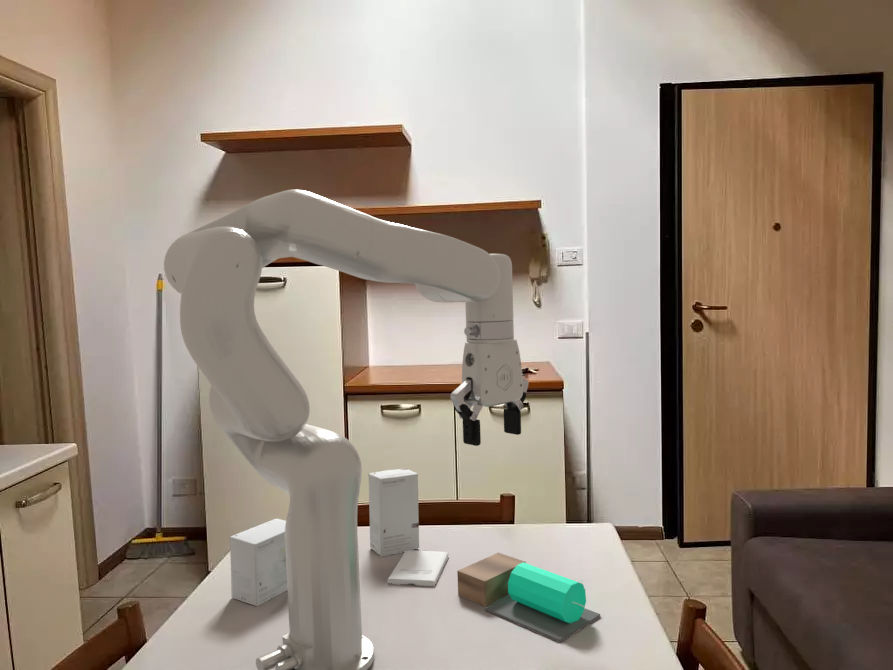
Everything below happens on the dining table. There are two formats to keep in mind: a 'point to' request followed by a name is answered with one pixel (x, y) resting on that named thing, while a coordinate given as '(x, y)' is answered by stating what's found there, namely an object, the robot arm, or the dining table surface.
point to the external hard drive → (419, 568)
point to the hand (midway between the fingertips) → (492, 438)
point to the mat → (540, 619)
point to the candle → (547, 592)
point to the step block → (487, 578)
